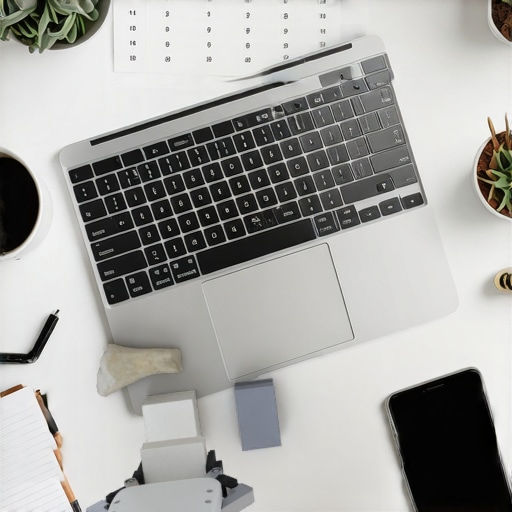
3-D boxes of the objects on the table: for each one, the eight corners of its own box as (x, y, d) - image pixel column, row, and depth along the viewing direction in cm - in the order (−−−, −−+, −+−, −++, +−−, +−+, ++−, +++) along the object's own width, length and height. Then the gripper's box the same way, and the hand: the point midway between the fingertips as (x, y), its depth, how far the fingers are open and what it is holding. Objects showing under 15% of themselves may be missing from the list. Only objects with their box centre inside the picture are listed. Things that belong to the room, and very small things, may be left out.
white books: (202, 445, 74) (200, 457, 71) (155, 451, 74) (150, 463, 71) (195, 389, 74) (192, 399, 70) (146, 396, 74) (141, 405, 70)
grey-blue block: (280, 436, 74) (281, 446, 71) (242, 441, 74) (242, 451, 71) (272, 378, 73) (273, 385, 70) (234, 383, 73) (234, 390, 70)
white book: (213, 504, 59) (212, 514, 57) (153, 512, 59) (150, 522, 57) (204, 435, 58) (203, 442, 56) (143, 442, 58) (139, 450, 56)
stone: (103, 393, 73) (93, 405, 69) (87, 348, 73) (76, 357, 68) (185, 366, 73) (180, 377, 68) (169, 321, 73) (164, 329, 68)
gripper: (44, 638, 42) (105, 510, 60) (271, 610, 42) (265, 490, 60) (28, 544, 42) (95, 443, 59) (259, 516, 42) (256, 423, 59)
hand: (180, 467), depth 60 cm, fingers closed on white book, 6 cm apart
